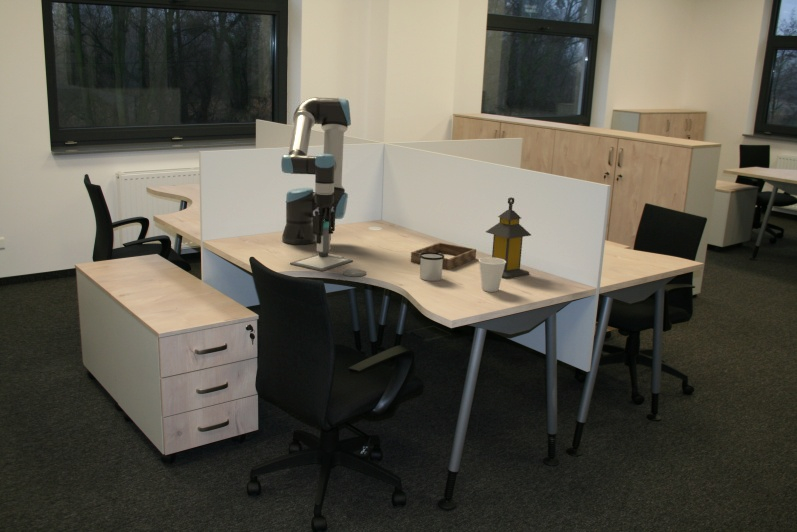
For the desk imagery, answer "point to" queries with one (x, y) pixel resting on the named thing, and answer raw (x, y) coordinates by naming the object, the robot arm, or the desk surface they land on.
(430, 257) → the mug
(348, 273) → the coaster
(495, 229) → the lantern
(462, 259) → the wooden frame
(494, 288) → the cup
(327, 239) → the marker
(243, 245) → the desk surface
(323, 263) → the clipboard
